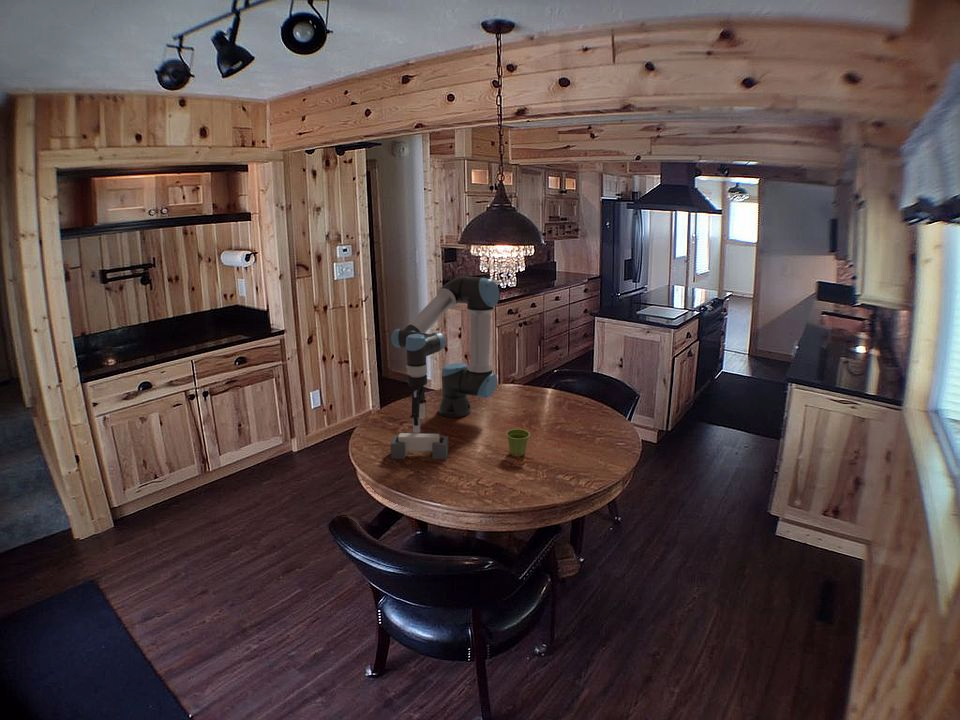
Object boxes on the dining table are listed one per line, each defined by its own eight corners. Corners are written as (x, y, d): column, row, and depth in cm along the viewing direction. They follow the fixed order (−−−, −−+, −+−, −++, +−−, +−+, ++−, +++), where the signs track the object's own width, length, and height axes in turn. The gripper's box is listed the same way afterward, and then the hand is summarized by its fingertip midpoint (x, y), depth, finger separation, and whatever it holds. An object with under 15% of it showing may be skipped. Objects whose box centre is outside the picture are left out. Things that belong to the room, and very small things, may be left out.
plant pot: (529, 448, 244) (529, 429, 241) (529, 459, 235) (529, 439, 232) (506, 447, 244) (506, 428, 242) (505, 458, 235) (506, 438, 233)
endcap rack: (448, 450, 242) (448, 436, 240) (446, 459, 235) (446, 444, 233) (394, 449, 243) (394, 435, 241) (391, 458, 236) (390, 443, 234)
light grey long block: (439, 447, 239) (439, 433, 238) (438, 451, 236) (438, 437, 234) (400, 446, 240) (399, 433, 238) (398, 450, 237) (398, 436, 235)
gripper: (412, 364, 241) (414, 412, 247) (402, 385, 217) (404, 438, 223) (430, 364, 240) (432, 413, 247) (422, 385, 217) (424, 438, 223)
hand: (419, 425), depth 235 cm, fingers open, 13 cm apart
